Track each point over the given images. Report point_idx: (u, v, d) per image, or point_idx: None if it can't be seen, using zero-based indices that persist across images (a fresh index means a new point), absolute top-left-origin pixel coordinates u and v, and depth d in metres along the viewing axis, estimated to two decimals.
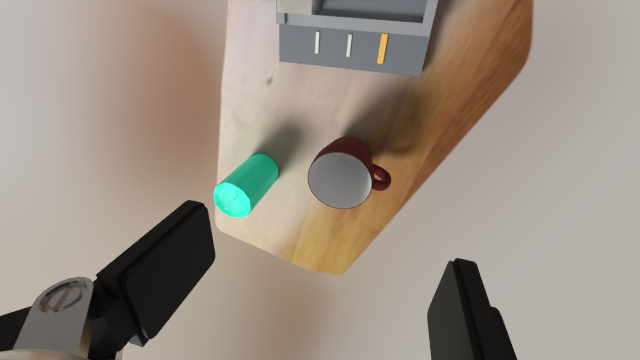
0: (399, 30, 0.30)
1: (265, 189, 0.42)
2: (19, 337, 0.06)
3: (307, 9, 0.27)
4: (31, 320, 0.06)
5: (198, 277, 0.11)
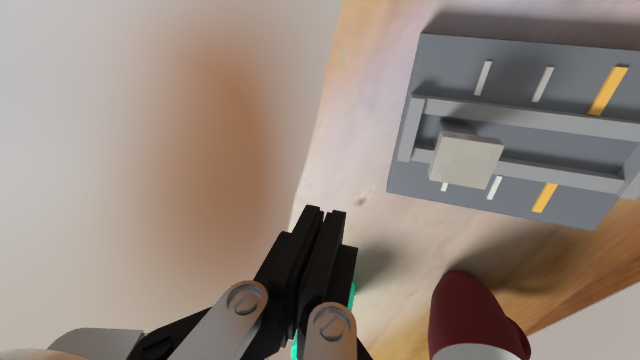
0: (584, 184, 0.21)
1: None
2: (202, 319, 0.07)
3: (480, 183, 0.18)
4: (216, 307, 0.07)
5: None
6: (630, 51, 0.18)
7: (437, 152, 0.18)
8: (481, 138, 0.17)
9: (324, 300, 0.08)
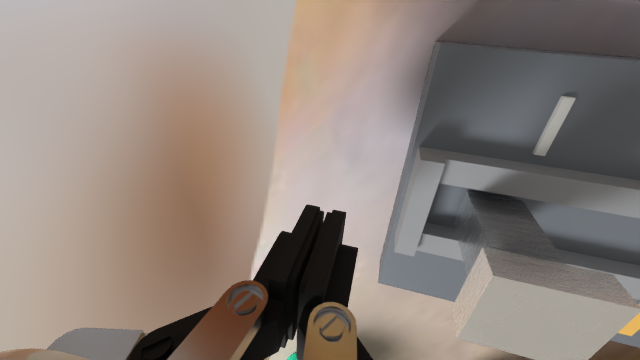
0: None
1: None
2: (202, 319, 0.07)
3: (567, 359, 0.09)
4: (216, 307, 0.07)
5: None
6: None
7: (477, 297, 0.08)
8: (577, 277, 0.08)
9: (324, 300, 0.08)
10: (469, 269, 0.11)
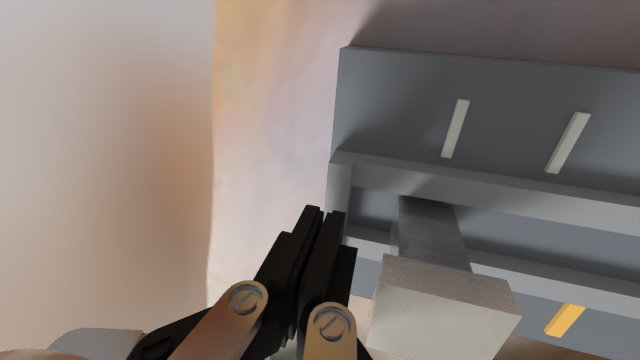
0: None
1: None
2: (202, 319, 0.07)
3: None
4: (216, 307, 0.07)
5: None
6: None
7: (375, 304, 0.08)
8: (468, 283, 0.08)
9: (324, 300, 0.08)
10: None
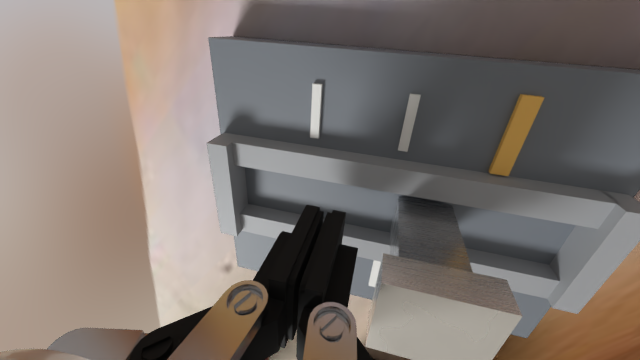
0: None
1: None
2: (202, 319, 0.07)
3: None
4: (216, 307, 0.07)
5: None
6: (545, 67, 0.10)
7: (375, 304, 0.08)
8: (468, 283, 0.08)
9: (324, 300, 0.08)
10: None
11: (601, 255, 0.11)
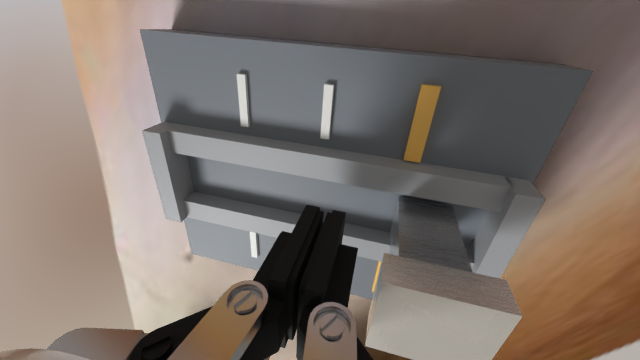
0: None
1: None
2: (202, 319, 0.07)
3: None
4: (216, 307, 0.07)
5: None
6: (440, 58, 0.10)
7: (375, 304, 0.08)
8: (468, 283, 0.08)
9: (324, 300, 0.08)
10: None
11: (501, 237, 0.11)
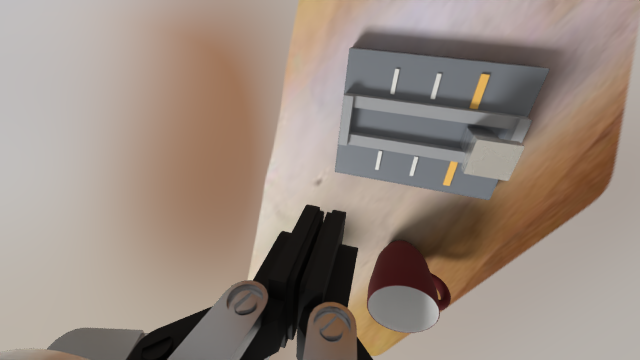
0: None
1: None
2: (202, 319, 0.07)
3: (504, 175, 0.23)
4: (216, 307, 0.07)
5: None
6: (490, 63, 0.25)
7: (471, 151, 0.23)
8: (506, 141, 0.23)
9: (324, 300, 0.08)
10: None
11: (513, 140, 0.26)
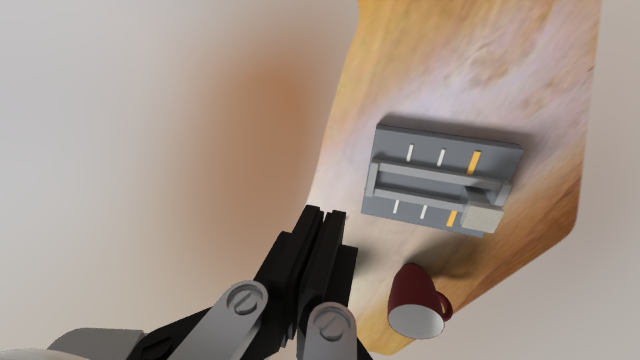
0: None
1: None
2: (202, 319, 0.07)
3: (491, 229, 0.32)
4: (216, 307, 0.07)
5: None
6: (481, 144, 0.34)
7: (467, 213, 0.32)
8: (491, 206, 0.32)
9: (324, 300, 0.08)
10: None
11: (499, 198, 0.35)
